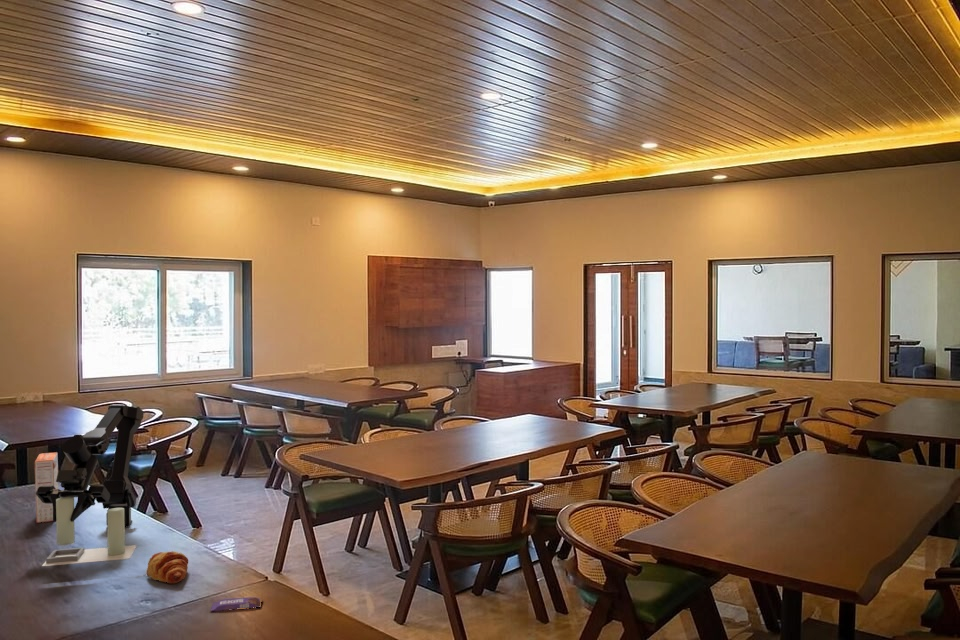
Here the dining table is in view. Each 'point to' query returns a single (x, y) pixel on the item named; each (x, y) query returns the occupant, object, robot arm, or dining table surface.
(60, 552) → the base plate
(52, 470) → the cracker box
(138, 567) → the dining table surface
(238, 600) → the snack package
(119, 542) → the fixed pillar
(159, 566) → the croissant
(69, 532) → the pillar
